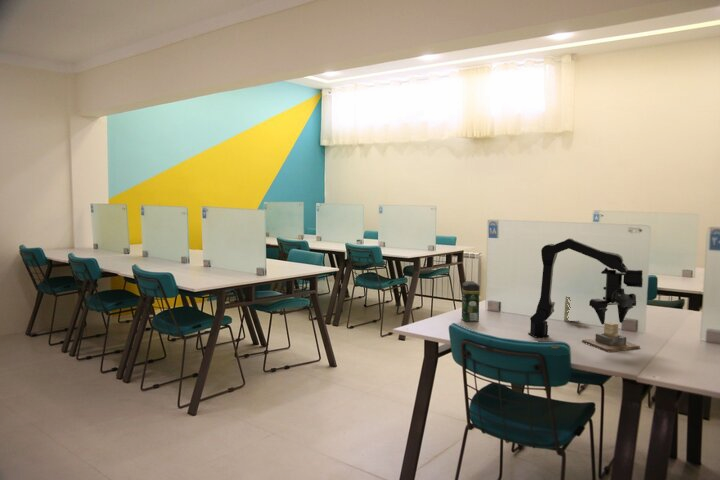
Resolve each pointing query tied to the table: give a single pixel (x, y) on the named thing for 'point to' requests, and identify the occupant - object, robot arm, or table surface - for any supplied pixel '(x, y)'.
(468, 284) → the coffee jar
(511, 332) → the table surface
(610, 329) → the maple peg
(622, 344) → the collar stand
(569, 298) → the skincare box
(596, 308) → the robot arm
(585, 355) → the table surface
